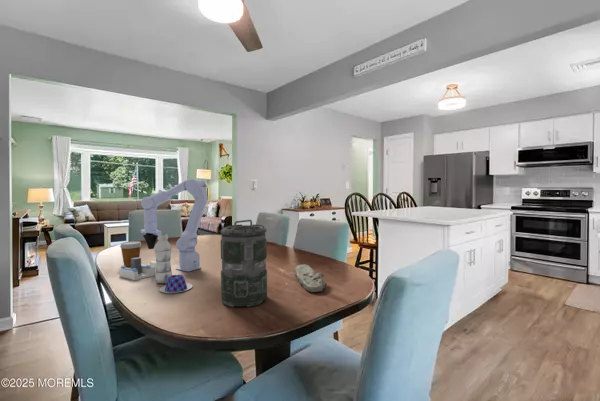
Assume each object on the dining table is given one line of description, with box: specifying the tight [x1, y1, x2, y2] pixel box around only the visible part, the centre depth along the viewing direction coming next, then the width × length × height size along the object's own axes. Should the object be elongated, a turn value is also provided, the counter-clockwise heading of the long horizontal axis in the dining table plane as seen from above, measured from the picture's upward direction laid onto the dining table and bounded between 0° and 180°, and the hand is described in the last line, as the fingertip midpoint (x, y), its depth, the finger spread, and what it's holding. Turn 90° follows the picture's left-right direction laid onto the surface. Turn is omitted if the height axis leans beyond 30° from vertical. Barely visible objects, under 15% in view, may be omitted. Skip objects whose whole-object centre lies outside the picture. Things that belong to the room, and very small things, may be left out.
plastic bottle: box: [153, 233, 173, 284], centre depth 127 cm, size 6×7×20 cm
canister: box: [219, 219, 268, 308], centre depth 107 cm, size 16×16×28 cm
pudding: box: [159, 274, 193, 294], centre depth 120 cm, size 12×12×5 cm
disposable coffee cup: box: [119, 240, 142, 269], centre depth 155 cm, size 10×10×12 cm
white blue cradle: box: [118, 260, 156, 281], centre depth 141 cm, size 12×16×5 cm
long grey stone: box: [294, 263, 326, 293], centre depth 131 cm, size 35×5×10 cm
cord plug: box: [130, 256, 142, 274], centre depth 138 cm, size 3×3×7 cm
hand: (151, 248), depth 152 cm, fingers closed
